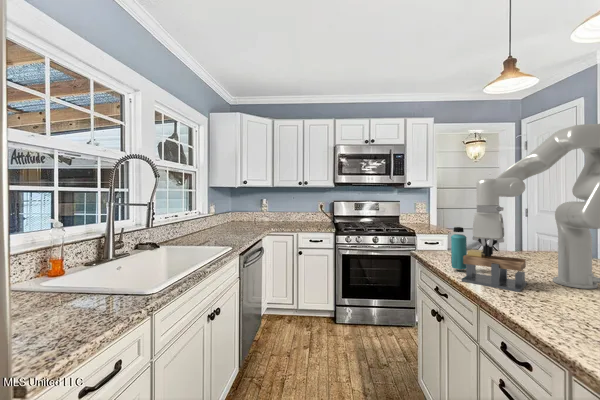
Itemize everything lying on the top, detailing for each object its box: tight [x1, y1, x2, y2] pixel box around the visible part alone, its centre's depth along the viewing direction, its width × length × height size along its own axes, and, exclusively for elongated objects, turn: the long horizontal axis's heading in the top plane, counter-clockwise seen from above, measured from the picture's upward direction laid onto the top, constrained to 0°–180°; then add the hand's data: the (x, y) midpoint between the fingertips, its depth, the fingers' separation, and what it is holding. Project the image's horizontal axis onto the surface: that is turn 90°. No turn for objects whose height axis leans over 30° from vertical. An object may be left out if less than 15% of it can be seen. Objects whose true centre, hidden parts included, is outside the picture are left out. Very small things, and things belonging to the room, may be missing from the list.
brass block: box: [467, 248, 485, 258], centre depth 120 cm, size 5×5×3 cm
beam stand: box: [461, 263, 528, 293], centre depth 116 cm, size 19×13×9 cm
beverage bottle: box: [450, 226, 468, 270], centre depth 134 cm, size 6×7×20 cm
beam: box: [463, 253, 527, 272], centre depth 116 cm, size 19×8×3 cm, turn 43°
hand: (488, 255), depth 117 cm, fingers closed
